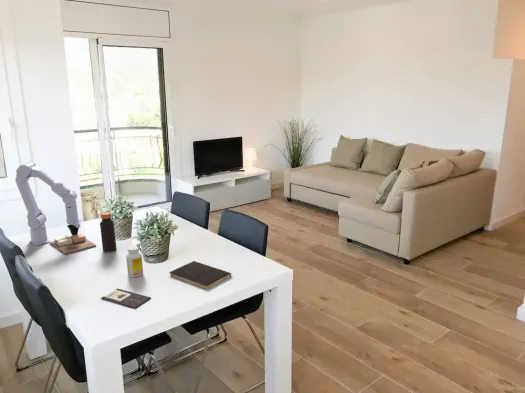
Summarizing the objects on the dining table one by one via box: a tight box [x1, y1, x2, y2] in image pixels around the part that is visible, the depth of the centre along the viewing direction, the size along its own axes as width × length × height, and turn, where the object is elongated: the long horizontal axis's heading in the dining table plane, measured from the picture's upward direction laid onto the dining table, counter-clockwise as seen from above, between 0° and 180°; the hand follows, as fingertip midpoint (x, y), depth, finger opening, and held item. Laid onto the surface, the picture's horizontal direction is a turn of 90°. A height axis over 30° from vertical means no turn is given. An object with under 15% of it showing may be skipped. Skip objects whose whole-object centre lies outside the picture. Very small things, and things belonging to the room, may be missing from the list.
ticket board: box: [49, 235, 97, 255], centre depth 231 cm, size 22×16×4 cm
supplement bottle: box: [125, 245, 144, 278], centre depth 193 cm, size 7×7×13 cm
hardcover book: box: [169, 260, 232, 290], centre depth 193 cm, size 16×23×2 cm
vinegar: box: [99, 211, 117, 253], centre depth 222 cm, size 7×7×20 cm
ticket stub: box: [69, 233, 87, 243], centre depth 234 cm, size 6×6×2 cm
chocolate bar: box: [100, 288, 152, 310], centre depth 173 cm, size 9×1×18 cm
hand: (75, 237), depth 237 cm, fingers closed
